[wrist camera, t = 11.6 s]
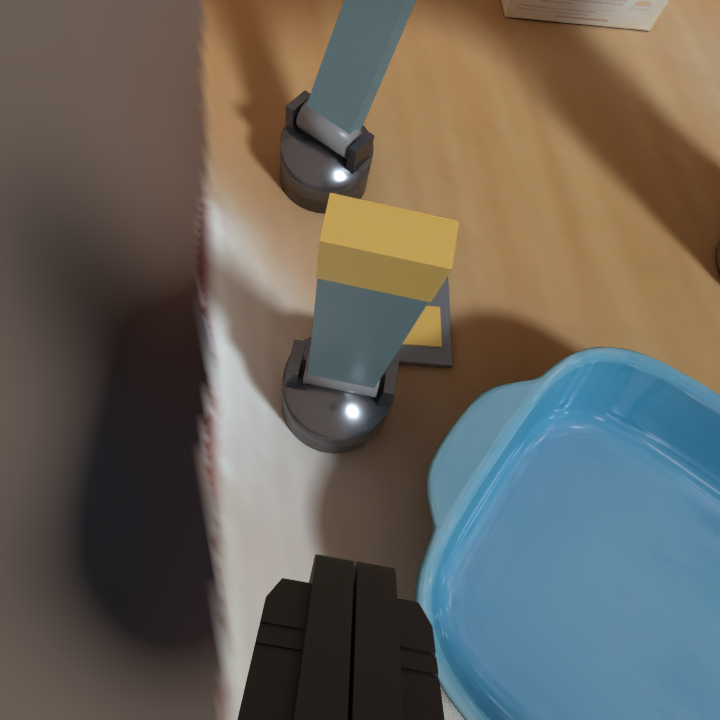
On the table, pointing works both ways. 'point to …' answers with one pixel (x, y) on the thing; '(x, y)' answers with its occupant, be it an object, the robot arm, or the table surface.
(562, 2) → the coffeecake box
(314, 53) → the table surface
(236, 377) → the table surface
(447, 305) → the chart card
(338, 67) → the far lever
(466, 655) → the casserole dish
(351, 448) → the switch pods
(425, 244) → the near lever
